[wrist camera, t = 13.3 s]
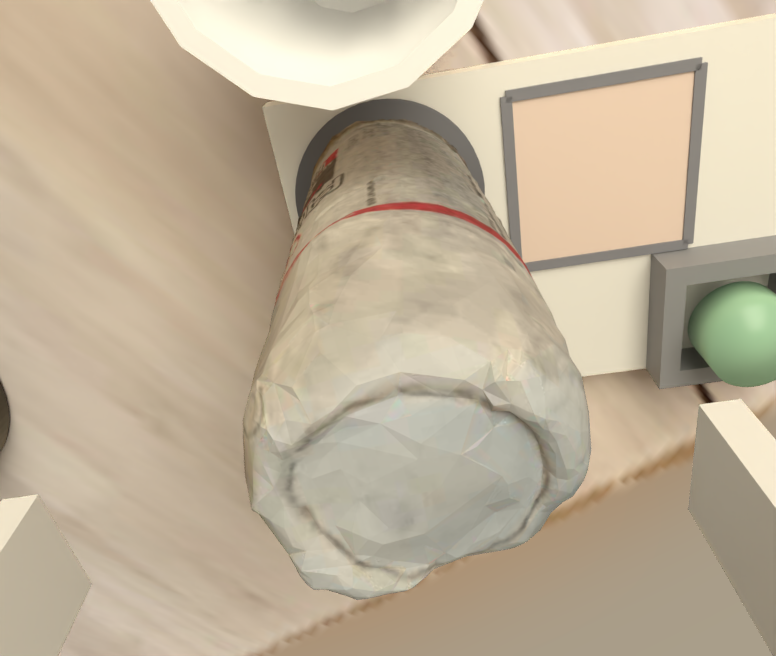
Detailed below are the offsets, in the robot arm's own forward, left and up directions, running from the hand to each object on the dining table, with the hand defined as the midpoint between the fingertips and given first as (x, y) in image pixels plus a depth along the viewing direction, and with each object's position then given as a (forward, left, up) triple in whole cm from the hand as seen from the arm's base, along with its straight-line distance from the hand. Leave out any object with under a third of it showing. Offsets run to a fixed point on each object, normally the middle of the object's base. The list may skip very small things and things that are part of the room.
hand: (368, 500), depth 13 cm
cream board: (+8, -4, -21) cm, 23 cm away
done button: (+16, -9, -18) cm, 26 cm away
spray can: (+1, 0, -20) cm, 20 cm away
